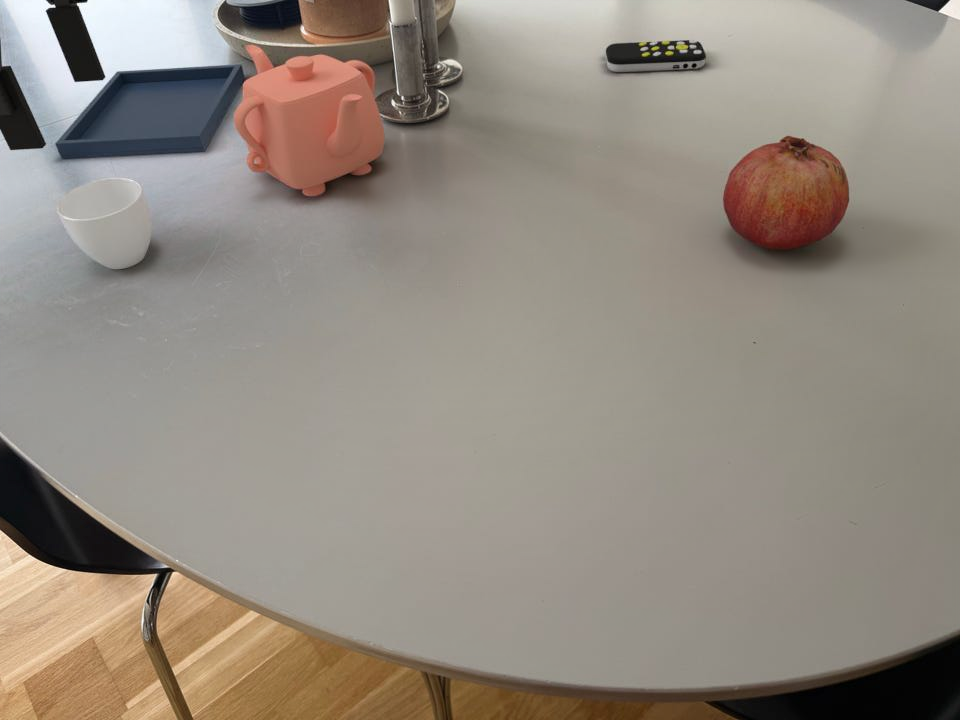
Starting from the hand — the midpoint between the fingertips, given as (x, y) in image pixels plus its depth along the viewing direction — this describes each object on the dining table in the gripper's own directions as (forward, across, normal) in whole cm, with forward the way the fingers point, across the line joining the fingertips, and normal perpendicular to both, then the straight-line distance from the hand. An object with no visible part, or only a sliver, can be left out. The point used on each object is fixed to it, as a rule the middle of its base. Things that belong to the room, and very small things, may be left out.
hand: (61, 111), depth 72 cm
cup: (+15, 0, 0) cm, 15 cm away
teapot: (+15, +16, -18) cm, 28 cm away
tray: (+15, +32, +6) cm, 36 cm away
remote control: (+16, +41, -59) cm, 73 cm away
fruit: (+16, -2, -64) cm, 66 cm away
